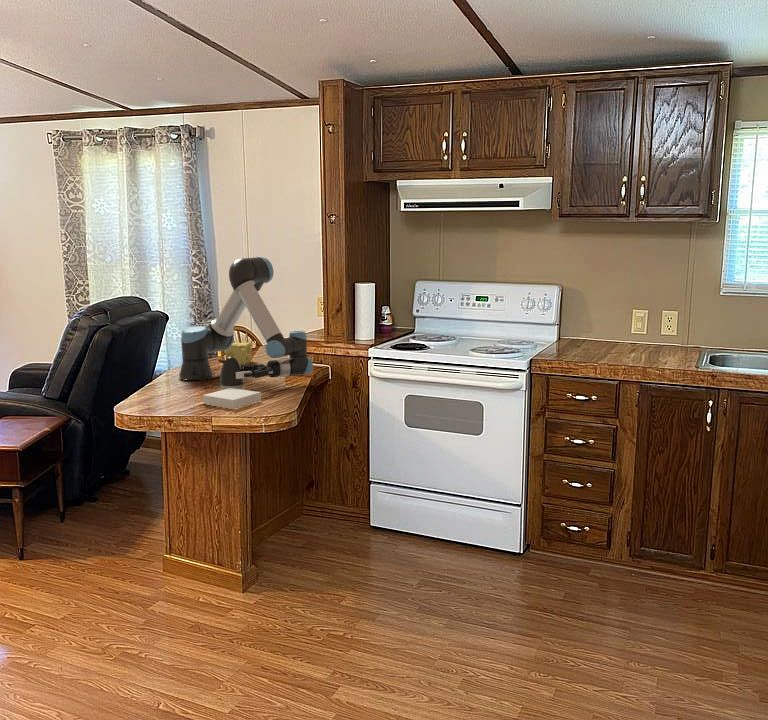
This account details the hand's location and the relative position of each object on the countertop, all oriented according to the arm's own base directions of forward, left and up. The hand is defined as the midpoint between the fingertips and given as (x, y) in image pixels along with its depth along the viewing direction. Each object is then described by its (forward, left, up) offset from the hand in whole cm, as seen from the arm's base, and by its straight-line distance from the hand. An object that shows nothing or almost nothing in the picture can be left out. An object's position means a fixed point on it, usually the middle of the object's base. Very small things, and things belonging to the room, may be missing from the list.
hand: (230, 372), depth 340 cm
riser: (+15, -16, -8) cm, 23 cm away
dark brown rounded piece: (0, 0, -9) cm, 9 cm away
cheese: (-44, +53, -9) cm, 70 cm away
